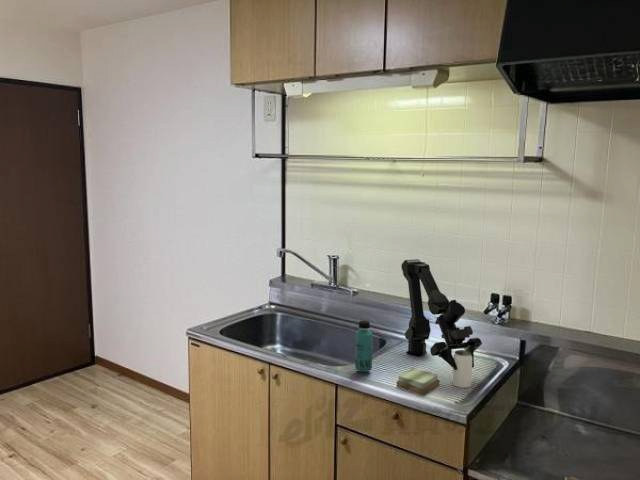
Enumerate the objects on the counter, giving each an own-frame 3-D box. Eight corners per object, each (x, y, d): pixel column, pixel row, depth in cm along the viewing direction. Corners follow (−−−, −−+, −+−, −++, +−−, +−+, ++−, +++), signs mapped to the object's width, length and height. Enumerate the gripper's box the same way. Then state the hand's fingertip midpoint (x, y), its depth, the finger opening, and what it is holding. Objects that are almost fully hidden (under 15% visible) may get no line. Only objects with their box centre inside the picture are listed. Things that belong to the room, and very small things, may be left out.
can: (467, 390, 183) (468, 357, 182) (449, 385, 187) (450, 353, 186) (474, 384, 188) (475, 352, 187) (456, 379, 192) (458, 348, 191)
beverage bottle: (357, 368, 203) (358, 318, 200) (374, 370, 201) (375, 320, 198) (352, 374, 197) (352, 322, 194) (369, 377, 195) (370, 324, 192)
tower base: (396, 386, 186) (396, 376, 186) (412, 377, 195) (412, 366, 194) (424, 395, 179) (424, 384, 179) (439, 385, 188) (439, 374, 187)
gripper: (435, 321, 185) (451, 362, 177) (480, 316, 191) (498, 355, 182) (423, 335, 194) (438, 375, 185) (467, 330, 200) (483, 369, 191)
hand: (464, 368), depth 186 cm, fingers closed on can, 6 cm apart
